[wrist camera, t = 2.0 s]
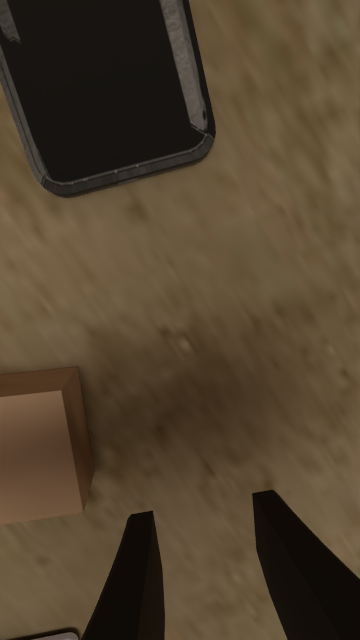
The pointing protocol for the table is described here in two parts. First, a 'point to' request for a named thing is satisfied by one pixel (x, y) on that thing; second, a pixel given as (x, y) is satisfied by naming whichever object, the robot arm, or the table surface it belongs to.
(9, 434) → the walnut tile
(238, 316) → the table surface
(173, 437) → the table surface
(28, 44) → the phone
